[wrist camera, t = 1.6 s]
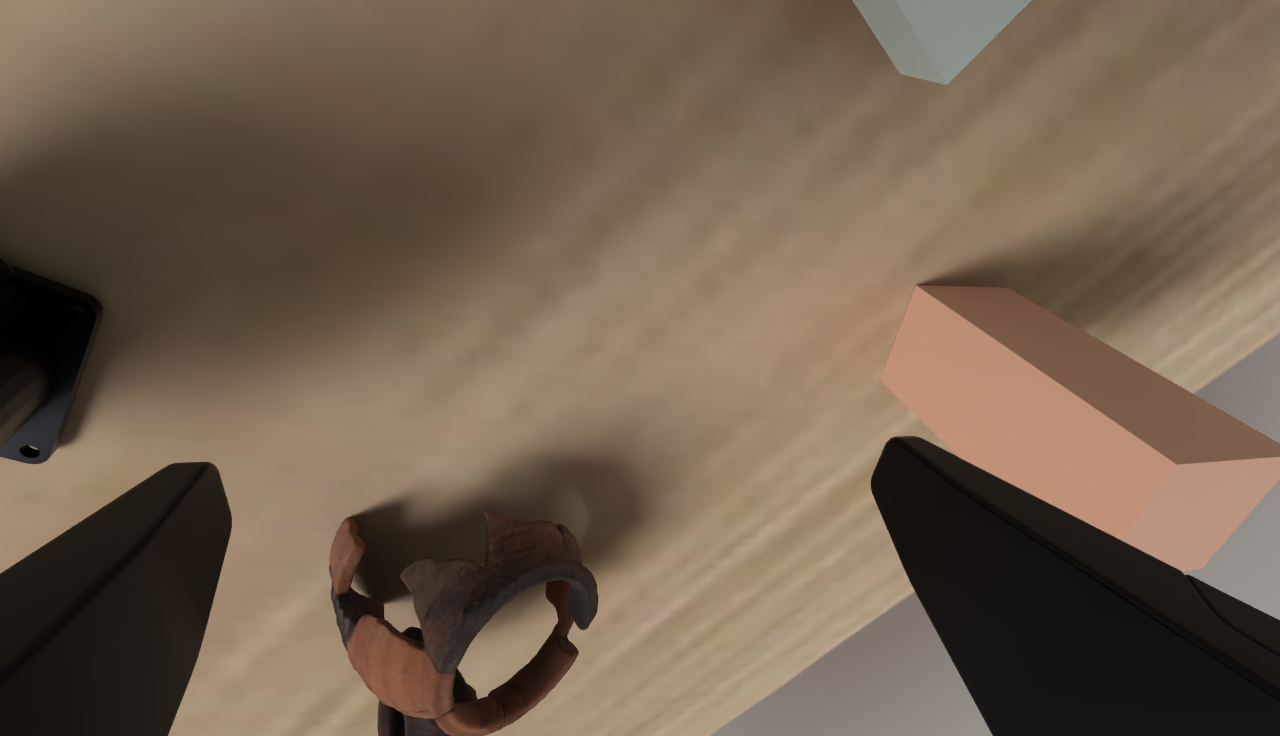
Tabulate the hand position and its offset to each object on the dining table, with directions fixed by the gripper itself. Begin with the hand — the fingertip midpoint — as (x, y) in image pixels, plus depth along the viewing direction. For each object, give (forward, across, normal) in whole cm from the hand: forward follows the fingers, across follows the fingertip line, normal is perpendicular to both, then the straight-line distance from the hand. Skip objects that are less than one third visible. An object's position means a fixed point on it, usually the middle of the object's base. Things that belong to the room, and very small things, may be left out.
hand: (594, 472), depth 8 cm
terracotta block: (+13, -18, +5) cm, 23 cm away
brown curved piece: (+13, +3, +17) cm, 22 cm away
